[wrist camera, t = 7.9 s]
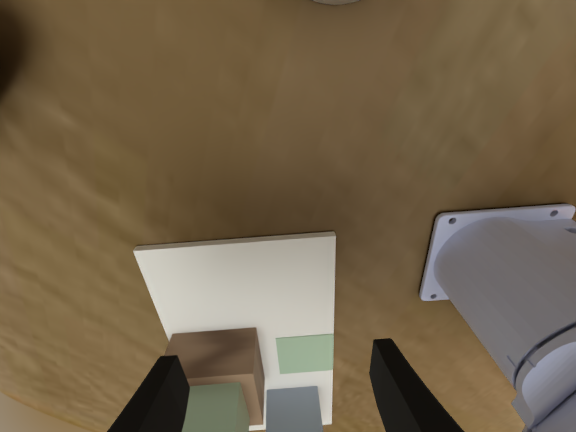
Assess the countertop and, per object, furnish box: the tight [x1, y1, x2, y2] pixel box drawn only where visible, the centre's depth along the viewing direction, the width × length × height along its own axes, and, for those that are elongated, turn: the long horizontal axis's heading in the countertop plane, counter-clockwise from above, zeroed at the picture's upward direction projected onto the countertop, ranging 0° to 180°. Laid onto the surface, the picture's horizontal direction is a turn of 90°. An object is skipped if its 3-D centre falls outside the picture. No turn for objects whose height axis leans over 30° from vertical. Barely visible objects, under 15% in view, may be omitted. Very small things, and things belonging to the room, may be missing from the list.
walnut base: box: [164, 327, 265, 426], centre depth 24 cm, size 7×7×4 cm
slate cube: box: [266, 386, 323, 432], centre depth 27 cm, size 5×5×5 cm
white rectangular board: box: [133, 231, 336, 431], centre depth 26 cm, size 14×25×1 cm, turn 4°
